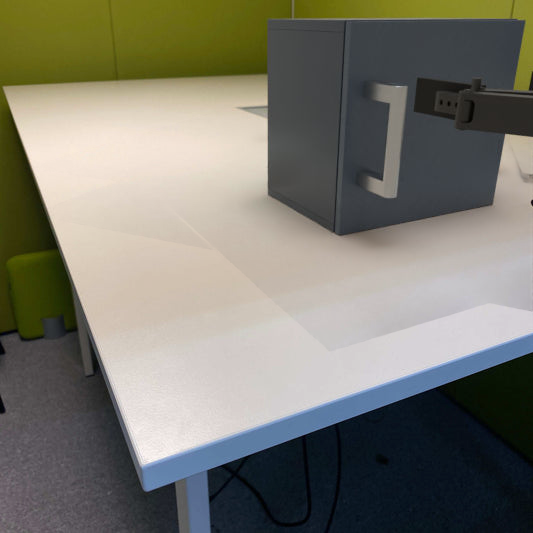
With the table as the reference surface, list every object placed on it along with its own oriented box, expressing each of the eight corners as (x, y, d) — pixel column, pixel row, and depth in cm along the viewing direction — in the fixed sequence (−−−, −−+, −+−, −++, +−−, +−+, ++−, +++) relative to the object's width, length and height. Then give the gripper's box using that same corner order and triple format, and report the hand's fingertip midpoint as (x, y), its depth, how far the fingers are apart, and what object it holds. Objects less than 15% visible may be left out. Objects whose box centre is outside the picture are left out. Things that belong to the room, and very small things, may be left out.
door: (527, 216, 74) (568, 20, 64) (368, 252, 63) (386, 22, 53) (487, 202, 79) (519, 19, 69) (334, 233, 68) (345, 21, 58)
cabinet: (485, 203, 79) (517, 18, 69) (333, 233, 69) (344, 20, 58) (404, 173, 94) (420, 17, 84) (267, 195, 83) (267, 18, 73)
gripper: (611, 228, 27) (359, 146, 45) (839, 171, 38) (563, 122, 55) (656, 68, 24) (366, 47, 41) (890, 54, 35) (581, 41, 52)
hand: (478, 90), depth 48 cm, fingers open, 13 cm apart
